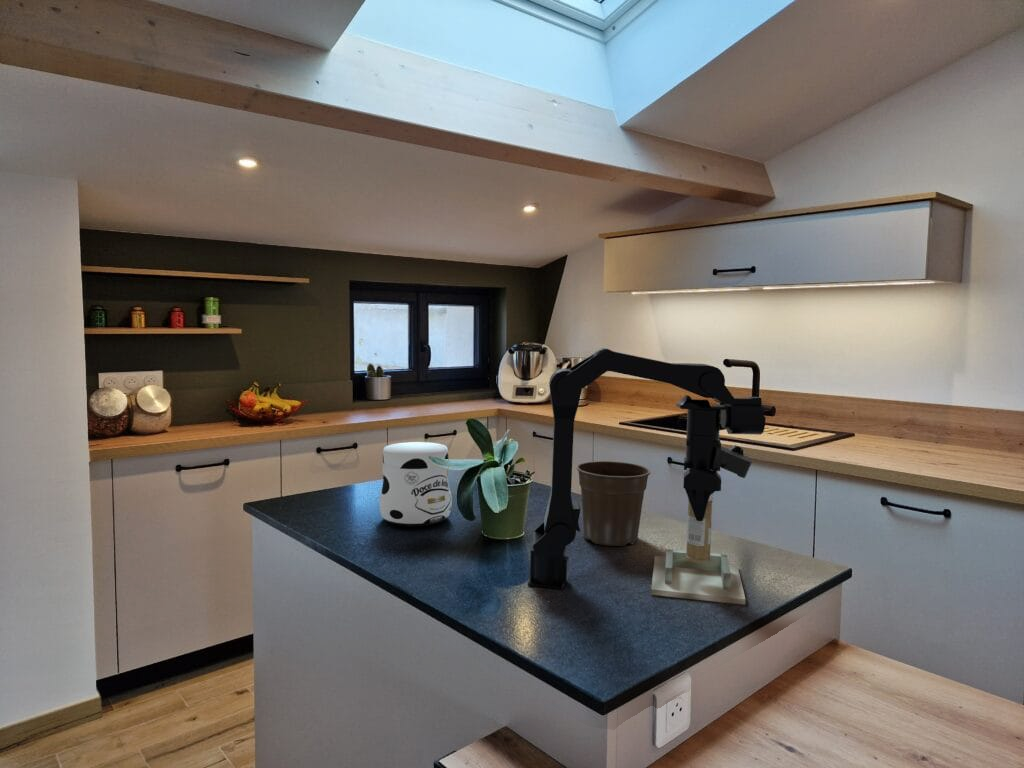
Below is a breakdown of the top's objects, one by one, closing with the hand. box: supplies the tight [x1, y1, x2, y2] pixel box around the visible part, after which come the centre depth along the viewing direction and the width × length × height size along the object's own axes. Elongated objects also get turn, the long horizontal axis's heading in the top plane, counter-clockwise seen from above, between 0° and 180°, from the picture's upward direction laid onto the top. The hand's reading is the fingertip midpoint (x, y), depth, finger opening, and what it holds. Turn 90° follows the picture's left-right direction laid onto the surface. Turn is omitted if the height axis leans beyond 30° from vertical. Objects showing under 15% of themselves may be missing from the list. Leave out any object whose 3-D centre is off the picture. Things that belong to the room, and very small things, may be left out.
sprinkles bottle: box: [686, 493, 714, 563], centre depth 125 cm, size 5×5×14 cm
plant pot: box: [576, 460, 651, 547], centre depth 152 cm, size 16×16×16 cm
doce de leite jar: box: [378, 441, 453, 528], centre depth 163 cm, size 17×17×18 cm
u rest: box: [650, 548, 746, 606], centre depth 128 cm, size 16×18×4 cm
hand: (699, 517), depth 125 cm, fingers closed on sprinkles bottle, 4 cm apart
